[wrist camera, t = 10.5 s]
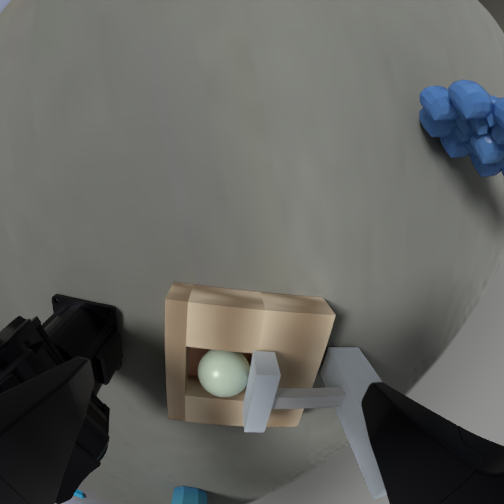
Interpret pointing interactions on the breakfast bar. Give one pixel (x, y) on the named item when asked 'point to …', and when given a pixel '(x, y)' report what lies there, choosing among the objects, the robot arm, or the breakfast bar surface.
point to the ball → (223, 372)
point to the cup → (189, 496)
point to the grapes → (466, 123)
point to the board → (239, 346)
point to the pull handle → (319, 400)
